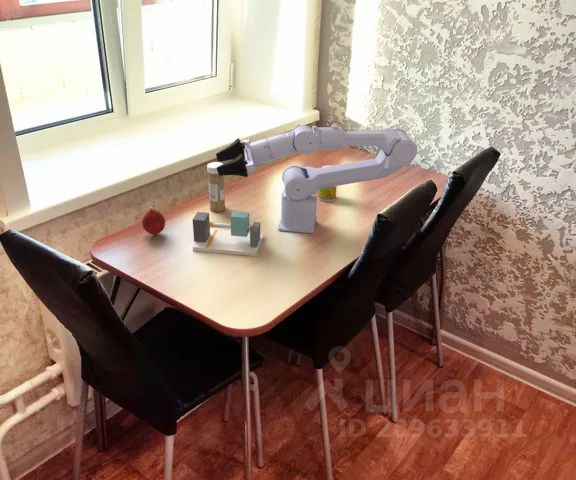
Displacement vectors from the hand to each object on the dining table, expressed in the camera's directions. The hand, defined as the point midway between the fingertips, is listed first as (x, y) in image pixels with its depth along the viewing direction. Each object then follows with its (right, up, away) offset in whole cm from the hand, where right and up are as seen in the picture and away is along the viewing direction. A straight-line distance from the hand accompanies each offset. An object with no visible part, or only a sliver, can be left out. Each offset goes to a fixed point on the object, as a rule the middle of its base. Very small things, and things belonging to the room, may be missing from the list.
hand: (217, 164), depth 145 cm
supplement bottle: (+29, -7, +27) cm, 40 cm away
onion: (-17, -18, +5) cm, 25 cm away
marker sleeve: (+6, -17, -1) cm, 18 cm away
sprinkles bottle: (-2, -10, +19) cm, 22 cm away
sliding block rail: (+3, -20, +1) cm, 20 cm away
